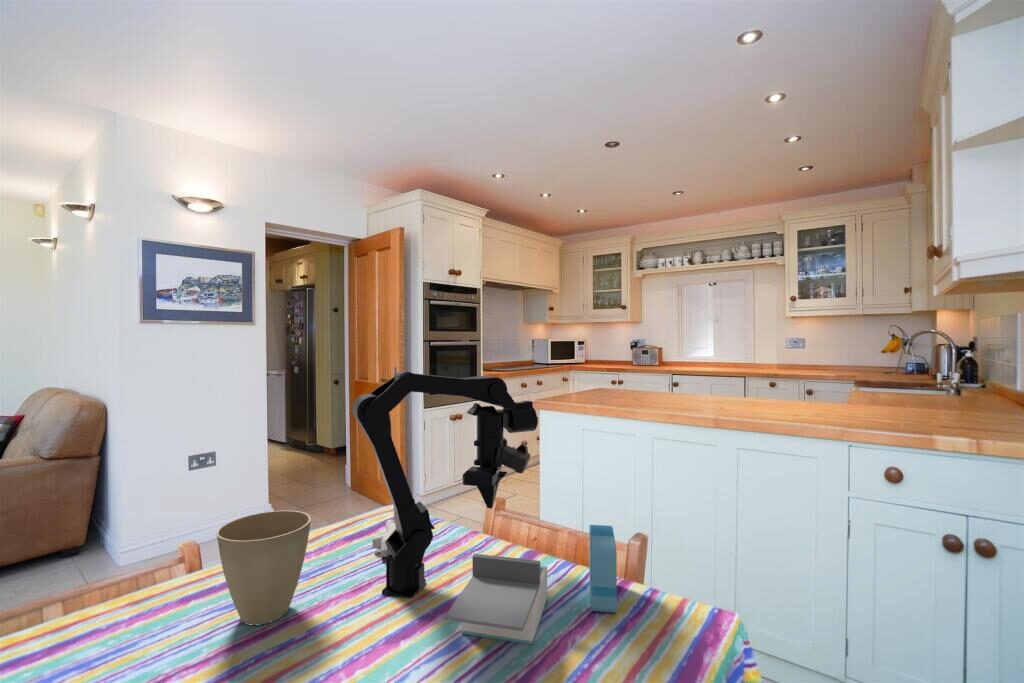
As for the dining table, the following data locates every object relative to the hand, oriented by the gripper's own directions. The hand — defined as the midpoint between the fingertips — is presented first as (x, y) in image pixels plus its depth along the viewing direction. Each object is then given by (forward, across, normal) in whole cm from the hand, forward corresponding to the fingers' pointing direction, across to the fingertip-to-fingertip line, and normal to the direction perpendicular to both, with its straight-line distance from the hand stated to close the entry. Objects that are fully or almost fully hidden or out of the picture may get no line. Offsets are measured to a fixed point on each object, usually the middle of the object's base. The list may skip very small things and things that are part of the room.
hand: (490, 507), depth 101 cm
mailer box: (+13, -16, -8) cm, 22 cm away
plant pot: (+13, -26, +34) cm, 45 cm away
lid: (+7, -23, -8) cm, 25 cm away
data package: (+13, -6, -24) cm, 28 cm away
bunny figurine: (+13, +5, +25) cm, 29 cm away
